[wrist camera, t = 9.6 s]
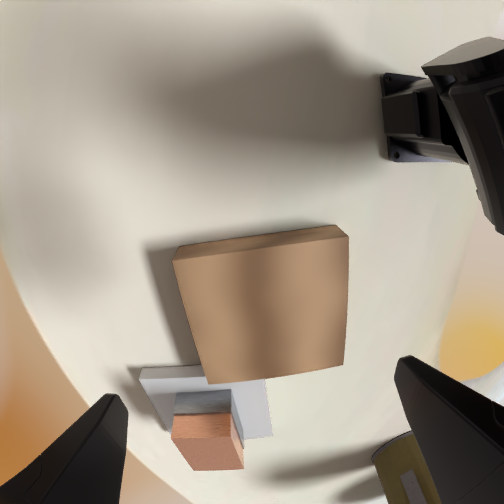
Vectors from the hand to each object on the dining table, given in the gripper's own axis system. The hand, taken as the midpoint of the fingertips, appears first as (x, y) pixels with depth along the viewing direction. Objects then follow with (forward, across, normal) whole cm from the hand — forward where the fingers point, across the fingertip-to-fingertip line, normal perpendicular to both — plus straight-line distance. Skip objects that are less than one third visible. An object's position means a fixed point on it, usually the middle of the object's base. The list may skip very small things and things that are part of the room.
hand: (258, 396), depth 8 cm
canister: (+13, -20, +38) cm, 45 cm away
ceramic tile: (+13, +6, +16) cm, 21 cm away
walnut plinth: (+13, -1, +5) cm, 14 cm away
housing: (+12, +5, +16) cm, 20 cm away
